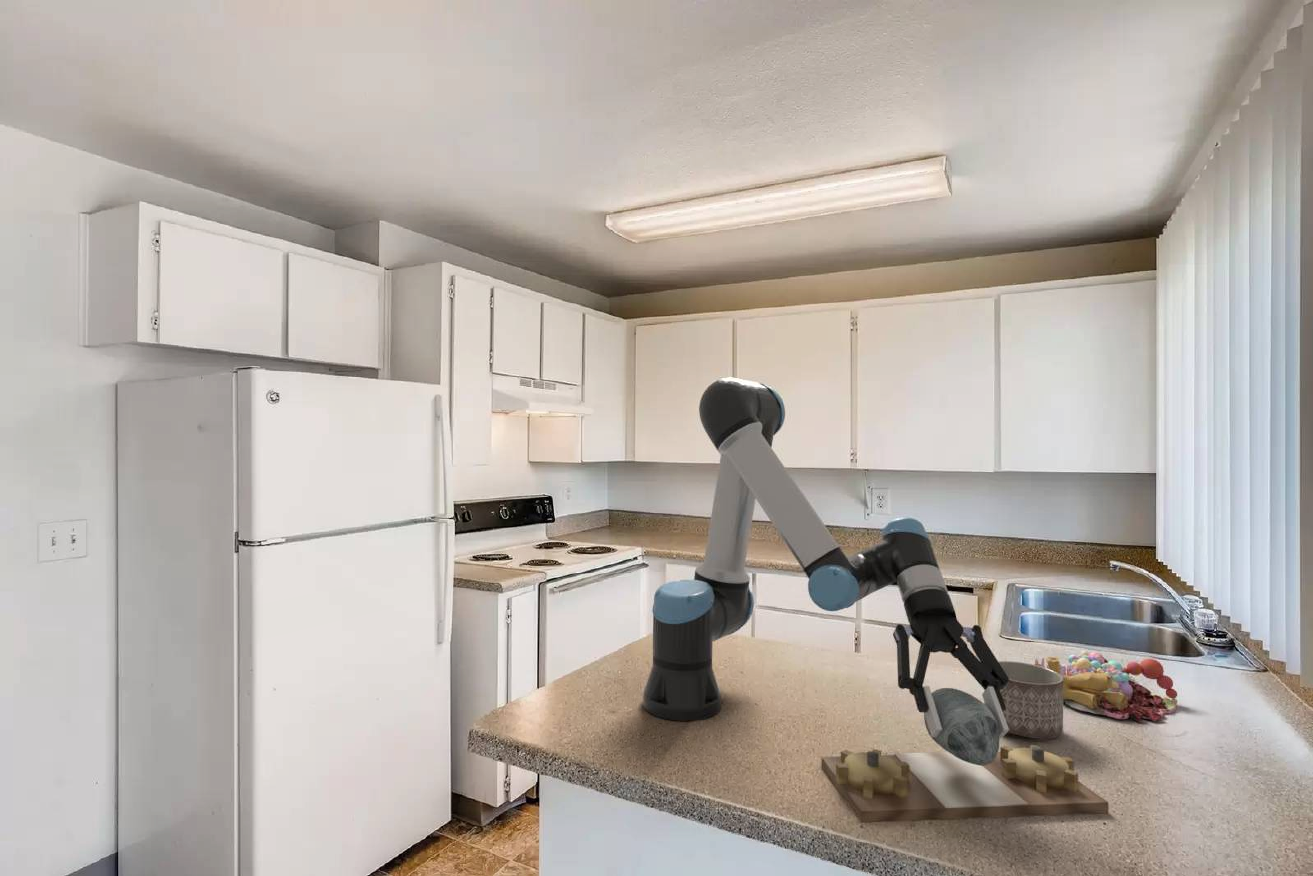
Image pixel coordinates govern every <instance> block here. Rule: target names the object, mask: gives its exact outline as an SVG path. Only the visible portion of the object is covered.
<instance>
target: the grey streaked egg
mask: <svg viewBox="0 0 1313 876" xmlns="http://www.w3.org/2000/svg"><path fill="white" fill-rule="evenodd" d="M931 694H932V697H933V700H934V704H935V707H936V710H937V714H938V717H939V720H940V724H941V727H942V731H941V732H940V733H939V735H938V736H937V737H931V734H930V730H929V727H928V723H927V720H926V716H925V713H924V712H923V718H924V725H925V728H926V731H927V733H928V735H929V736H930V738H931V739H932V741H934V742H935V743H936V744H937V745H938V746H940V748H942V749H943V750H945V752H949V753H951V754H952V755H954V756H955V757H957V758H959V759H961V760H963V761H965V762H968V763H972V764H976V765H981V766H984V765H987V764H990V763H991V762H993V761H994V759H995V757H996V755H997V752H999V750H1000V738H999V728H998V724H997V721H996V719H995V716H994V715H993V713H992V712H991V710H990V709H989V708H988V707H987V706H986V705H985V704H984V702H982V701H981V700H980V699H979V698H977V697H975V696H974V695H972V694H970V693H968V692H966V691H963V690H960V689H957V688H952V687H951V688H950V687H943V688H942V687H941V688H938V689H936V690H934V691H933V692H932V691H931Z"/></svg>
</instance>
